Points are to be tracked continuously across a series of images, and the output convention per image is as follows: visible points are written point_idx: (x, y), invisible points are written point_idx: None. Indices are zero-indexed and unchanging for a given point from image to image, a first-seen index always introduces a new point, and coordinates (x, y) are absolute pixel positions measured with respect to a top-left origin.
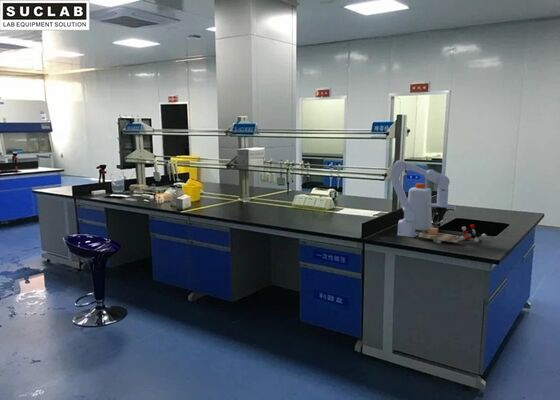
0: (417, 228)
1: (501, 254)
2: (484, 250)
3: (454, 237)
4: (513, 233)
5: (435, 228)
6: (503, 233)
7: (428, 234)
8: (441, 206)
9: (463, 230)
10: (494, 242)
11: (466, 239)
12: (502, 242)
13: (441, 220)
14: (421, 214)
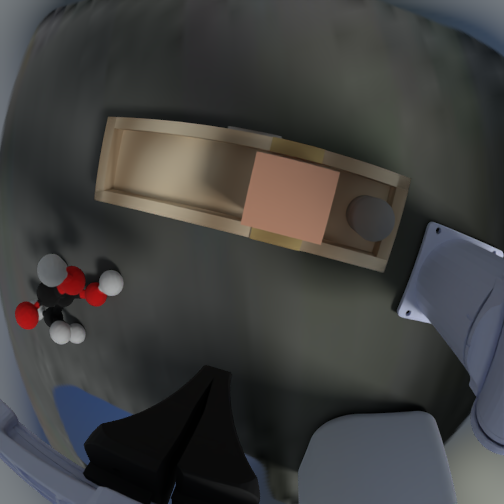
0: (381, 417)
1: (11, 98)
2: (39, 114)
3: (128, 193)
4: (44, 412)
5: (267, 209)
6: (57, 413)
7: (329, 151)
8: (96, 492)
9: (66, 272)
10: (26, 284)
11: (97, 283)
12: (15, 294)
13: (203, 367)
14: (376, 492)
